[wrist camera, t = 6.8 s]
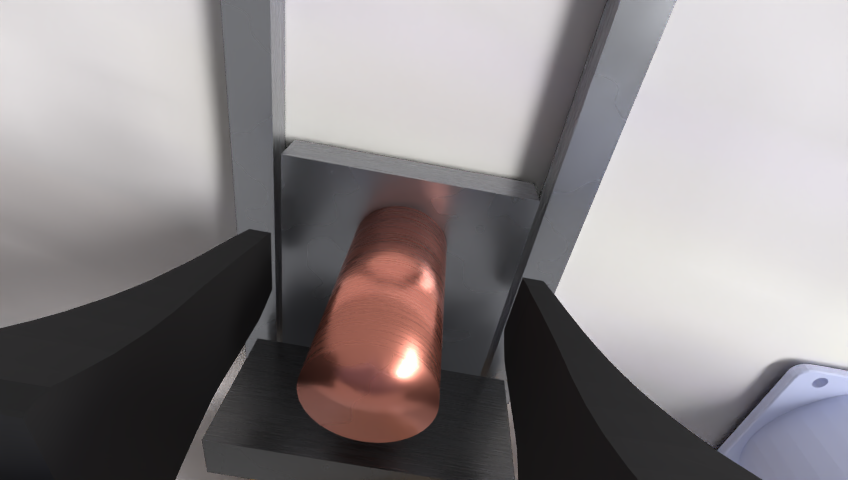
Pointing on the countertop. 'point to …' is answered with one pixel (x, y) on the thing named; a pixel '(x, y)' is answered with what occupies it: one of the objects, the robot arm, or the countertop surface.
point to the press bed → (566, 181)
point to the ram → (380, 326)
